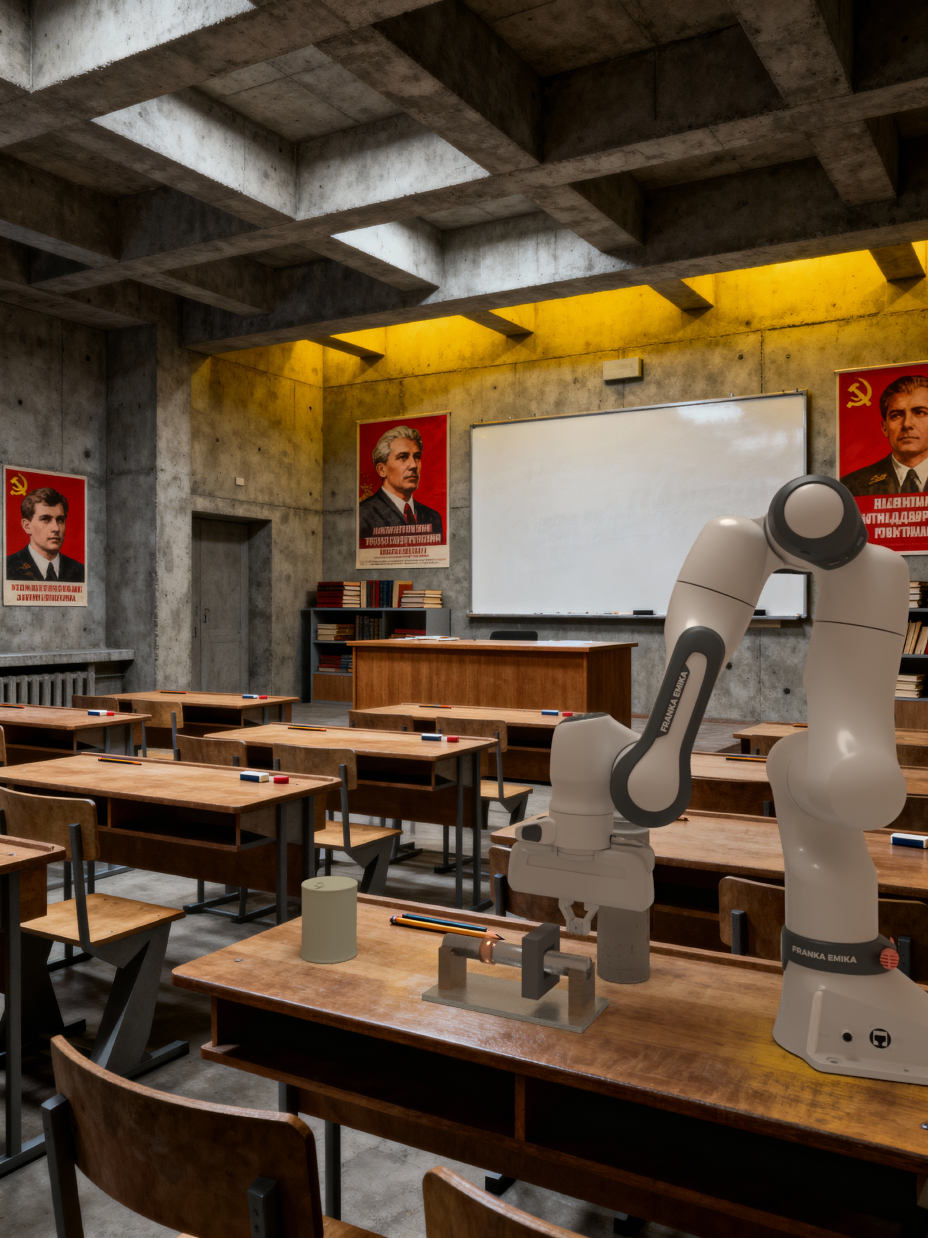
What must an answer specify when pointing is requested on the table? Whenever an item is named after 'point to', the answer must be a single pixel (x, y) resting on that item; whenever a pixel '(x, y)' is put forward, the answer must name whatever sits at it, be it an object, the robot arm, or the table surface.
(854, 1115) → the table surface
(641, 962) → the thermos bottle
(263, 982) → the table surface
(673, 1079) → the table surface
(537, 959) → the collar
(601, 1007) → the rail
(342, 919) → the can
